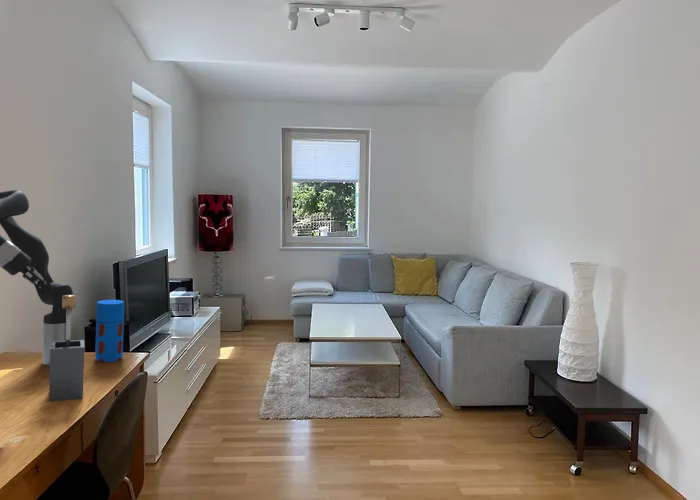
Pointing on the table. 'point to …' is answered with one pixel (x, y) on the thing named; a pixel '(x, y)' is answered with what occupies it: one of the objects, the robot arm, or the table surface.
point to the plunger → (68, 314)
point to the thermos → (109, 330)
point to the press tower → (66, 370)
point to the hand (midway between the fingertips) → (51, 291)
